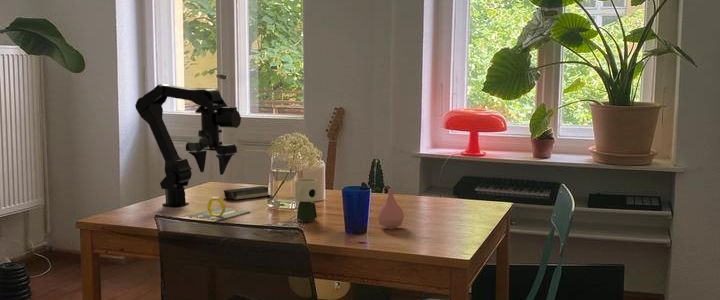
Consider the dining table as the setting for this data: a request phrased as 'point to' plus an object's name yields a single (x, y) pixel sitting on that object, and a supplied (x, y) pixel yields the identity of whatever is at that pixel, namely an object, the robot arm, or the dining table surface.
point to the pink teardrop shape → (390, 212)
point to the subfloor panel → (227, 213)
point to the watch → (220, 203)
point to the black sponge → (246, 192)
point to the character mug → (306, 198)
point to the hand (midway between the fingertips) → (211, 173)
